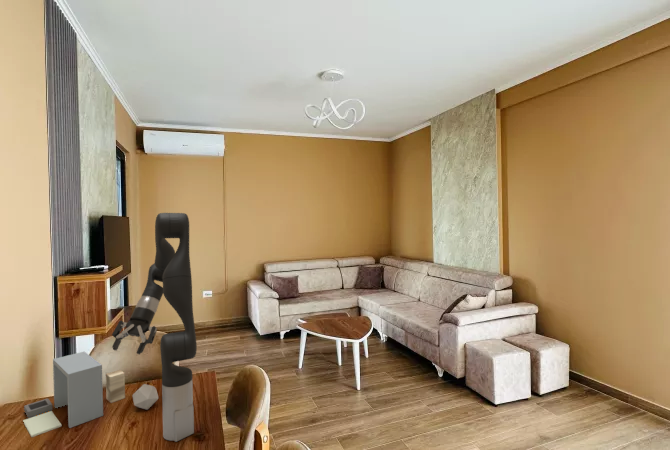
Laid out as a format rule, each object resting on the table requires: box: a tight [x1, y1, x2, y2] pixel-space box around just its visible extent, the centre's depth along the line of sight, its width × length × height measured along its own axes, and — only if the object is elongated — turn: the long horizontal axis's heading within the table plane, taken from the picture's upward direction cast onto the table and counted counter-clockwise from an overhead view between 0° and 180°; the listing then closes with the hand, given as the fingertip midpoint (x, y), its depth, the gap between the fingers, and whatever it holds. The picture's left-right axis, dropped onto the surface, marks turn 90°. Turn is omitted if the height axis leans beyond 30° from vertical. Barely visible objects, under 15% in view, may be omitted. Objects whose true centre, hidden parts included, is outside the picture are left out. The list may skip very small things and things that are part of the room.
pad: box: [22, 411, 62, 438], centre depth 124 cm, size 14×8×1 cm, turn 50°
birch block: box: [105, 369, 126, 404], centre depth 142 cm, size 5×5×10 cm
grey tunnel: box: [52, 351, 104, 429], centre depth 132 cm, size 21×10×18 cm, turn 50°
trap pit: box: [23, 397, 54, 419], centre depth 133 cm, size 7×7×2 cm
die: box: [132, 383, 159, 411], centre depth 135 cm, size 8×9×10 cm
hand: (126, 351), depth 130 cm, fingers open, 8 cm apart
